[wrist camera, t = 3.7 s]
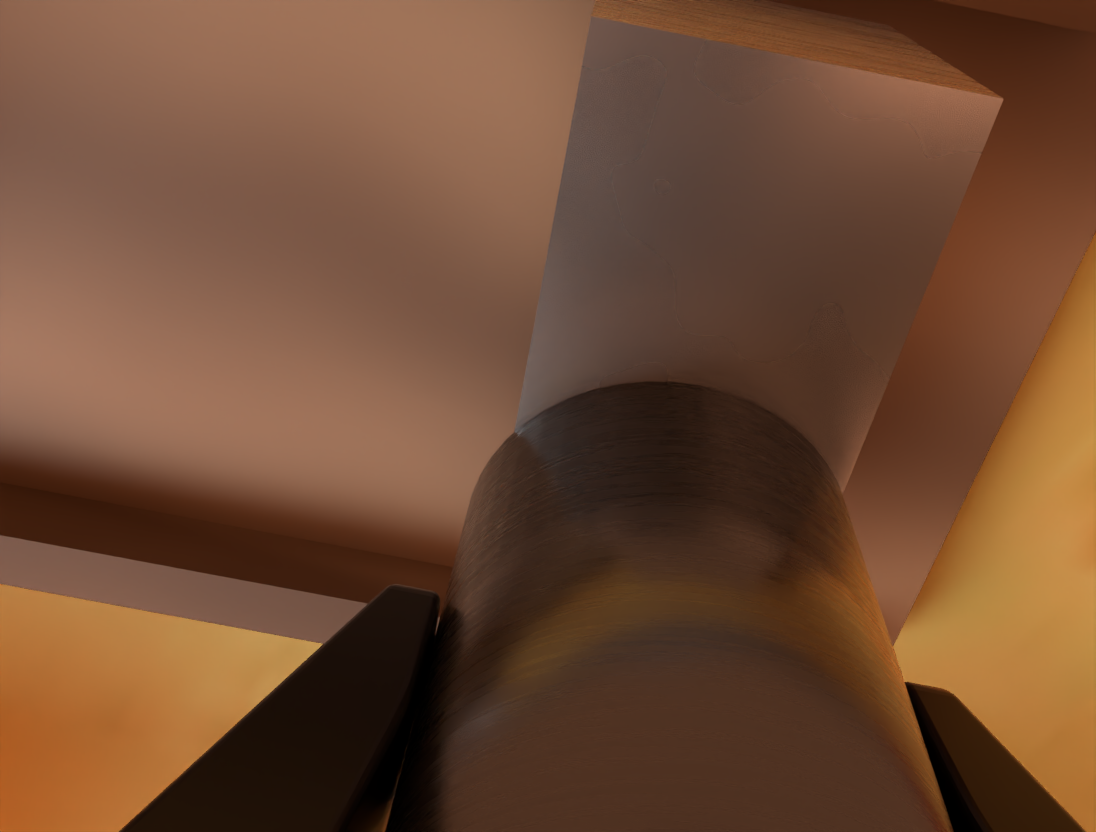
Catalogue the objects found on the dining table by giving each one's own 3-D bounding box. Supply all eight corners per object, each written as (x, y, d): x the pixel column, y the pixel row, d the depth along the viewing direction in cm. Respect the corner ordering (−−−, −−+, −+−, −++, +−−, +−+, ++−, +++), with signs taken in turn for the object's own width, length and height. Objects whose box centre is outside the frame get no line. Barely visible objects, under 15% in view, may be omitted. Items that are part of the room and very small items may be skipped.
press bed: (849, 638, 18) (939, 959, 13) (-453, 394, 17) (-920, 623, 12) (1175, -79, 12) (1608, -33, 6) (-815, -487, 11) (-2065, -788, 6)
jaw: (698, 654, 14) (766, 1487, 7) (463, 610, 14) (283, 1407, 7) (916, 29, 10) (1748, 526, 3) (576, -39, 10) (403, 267, 2)
